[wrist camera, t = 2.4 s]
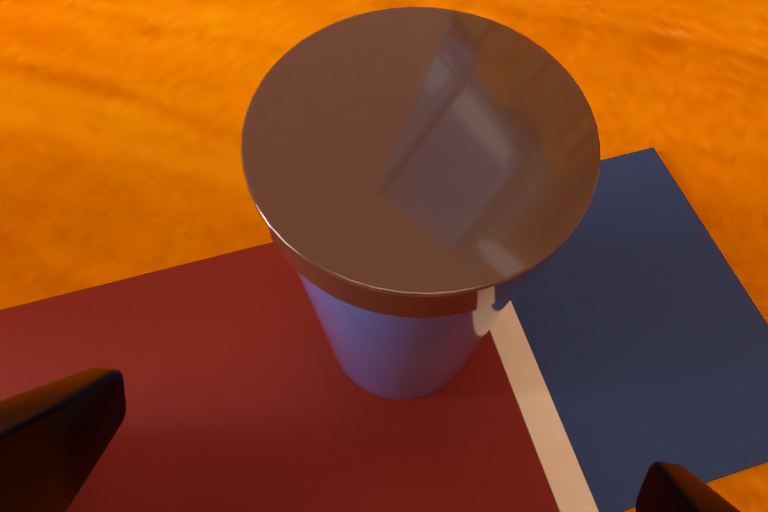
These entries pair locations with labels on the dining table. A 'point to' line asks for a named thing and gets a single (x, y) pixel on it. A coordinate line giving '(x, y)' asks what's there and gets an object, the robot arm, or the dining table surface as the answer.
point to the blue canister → (417, 182)
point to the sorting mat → (433, 411)
